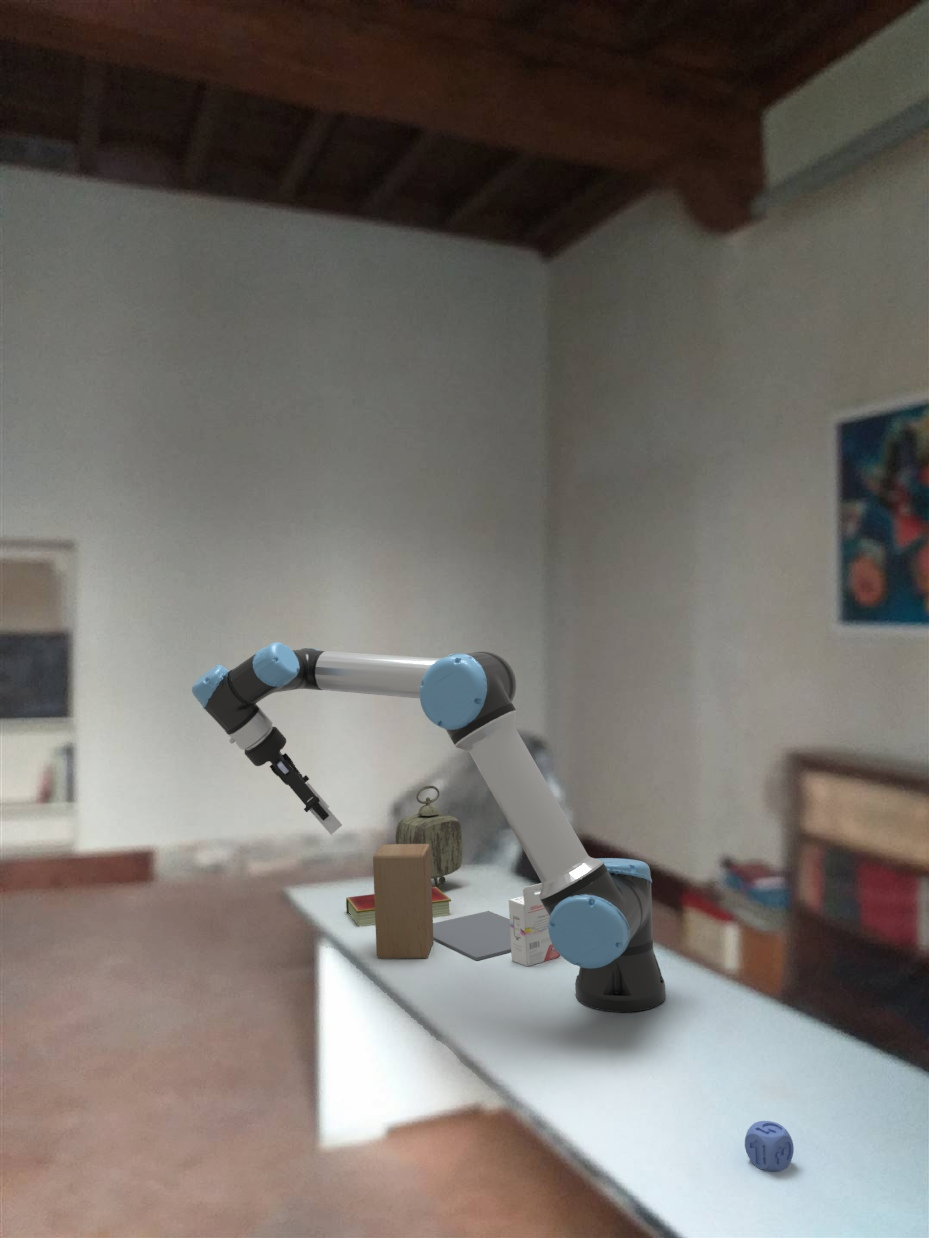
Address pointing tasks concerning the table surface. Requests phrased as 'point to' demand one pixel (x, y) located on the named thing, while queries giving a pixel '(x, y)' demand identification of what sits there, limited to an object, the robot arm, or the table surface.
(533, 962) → the ink cartridge box
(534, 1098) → the table surface
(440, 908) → the hardcover book
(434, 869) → the tabletop clock
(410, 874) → the wooden block
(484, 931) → the mat
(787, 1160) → the decorative dice
